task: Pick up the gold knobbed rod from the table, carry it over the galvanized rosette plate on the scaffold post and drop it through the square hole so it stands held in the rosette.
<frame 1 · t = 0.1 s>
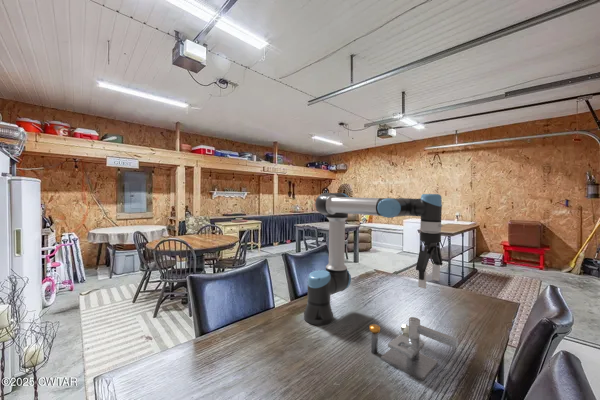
hand: (429, 283, 105), 28 cm above the table, fingers open, 13 cm apart
pipe fitting: (406, 337, 117), on the table
rosette post: (409, 361, 99), on the table
gold knobbed rod: (374, 352, 105), on the table
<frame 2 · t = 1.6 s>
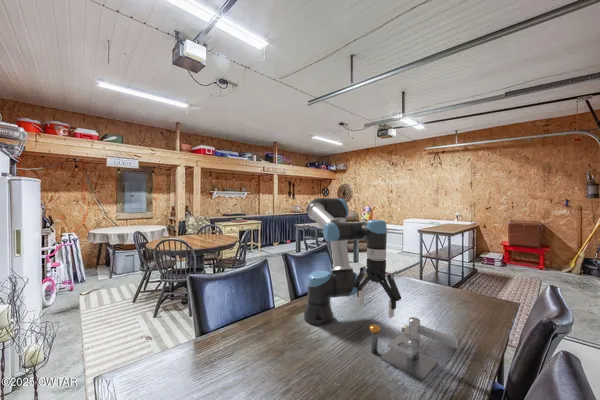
hand: (375, 311, 104), 17 cm above the table, fingers open, 13 cm apart
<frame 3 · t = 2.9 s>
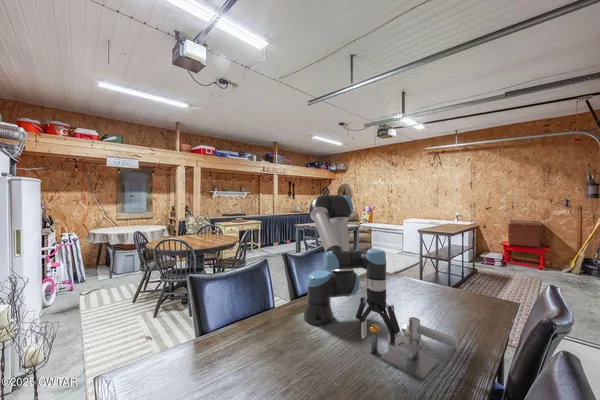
hand: (376, 343, 104), 4 cm above the table, fingers open, 11 cm apart
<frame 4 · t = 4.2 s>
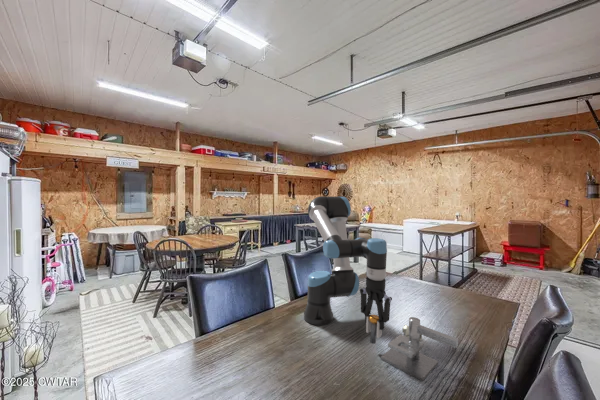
hand: (373, 333, 105), 7 cm above the table, fingers closed on gold knobbed rod, 4 cm apart
gold knobbed rod: (372, 341, 106), point 4 cm above the table, touching gripper
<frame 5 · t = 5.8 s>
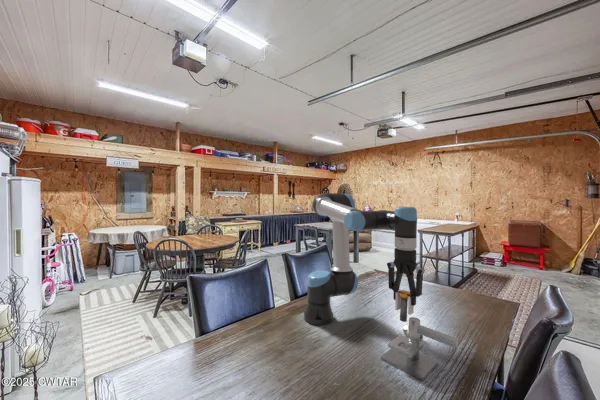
hand: (404, 311, 96), 21 cm above the table, fingers closed on gold knobbed rod, 4 cm apart
gold knobbed rod: (403, 320, 96), point 17 cm above the table, touching gripper
when the fingers open (9 cm above the table, at t = 7.7 s): gold knobbed rod drops 5 cm, resting on rosette post.
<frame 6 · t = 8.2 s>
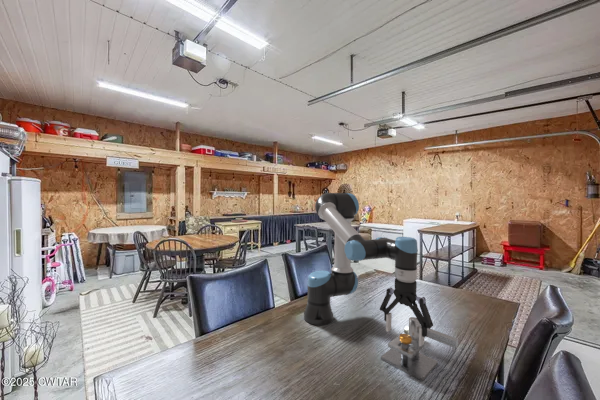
hand: (404, 337, 96), 11 cm above the table, fingers open, 12 cm apart
gold knobbed rod: (404, 364, 96), point 1 cm above the table, touching rosette post
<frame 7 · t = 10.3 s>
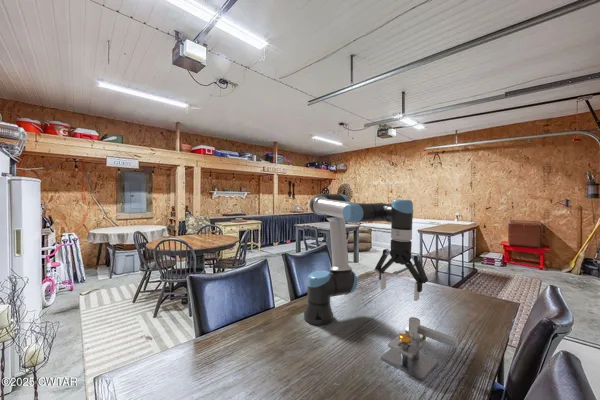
hand: (399, 294, 100), 26 cm above the table, fingers open, 13 cm apart
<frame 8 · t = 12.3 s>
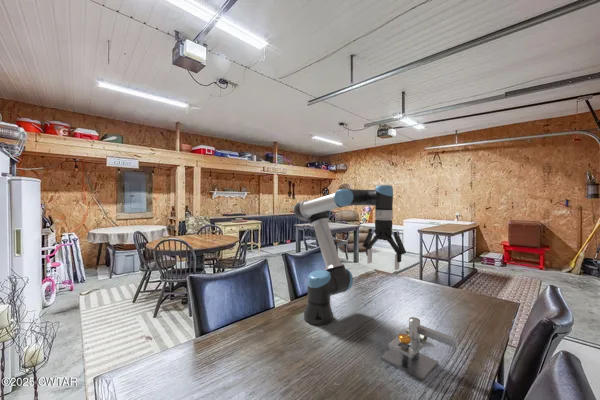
hand: (382, 266, 117), 32 cm above the table, fingers open, 13 cm apart
at the end: gold knobbed rod 0.2 cm from the target spot on the rosette post, point 1.0 cm above the rosette post's base; gold knobbed rod tilted 1°; the gripper is holding nothing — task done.
